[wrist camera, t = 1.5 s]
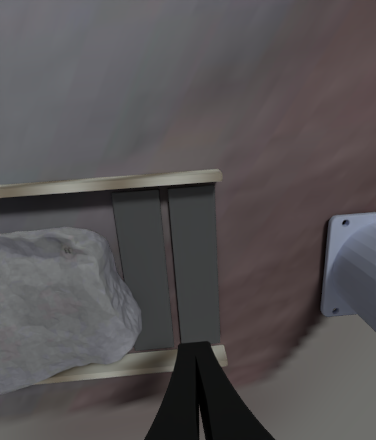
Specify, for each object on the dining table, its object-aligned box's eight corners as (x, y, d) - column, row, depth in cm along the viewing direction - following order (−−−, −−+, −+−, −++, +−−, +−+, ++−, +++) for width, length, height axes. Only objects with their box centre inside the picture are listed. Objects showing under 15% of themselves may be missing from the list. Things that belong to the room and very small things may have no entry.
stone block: (-48, 246, 20) (2, 370, 21) (-119, 264, 16) (-50, 421, 17) (108, 198, 20) (151, 325, 21) (83, 201, 15) (140, 366, 16)
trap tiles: (213, 184, 18) (214, 185, 18) (219, 340, 22) (220, 342, 22) (112, 192, 18) (111, 193, 18) (135, 347, 22) (135, 350, 22)
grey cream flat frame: (217, 169, 18) (222, 172, 17) (223, 350, 22) (227, 365, 21) (-166, 197, 17) (-198, 203, 16) (-81, 379, 22) (-100, 397, 20)
